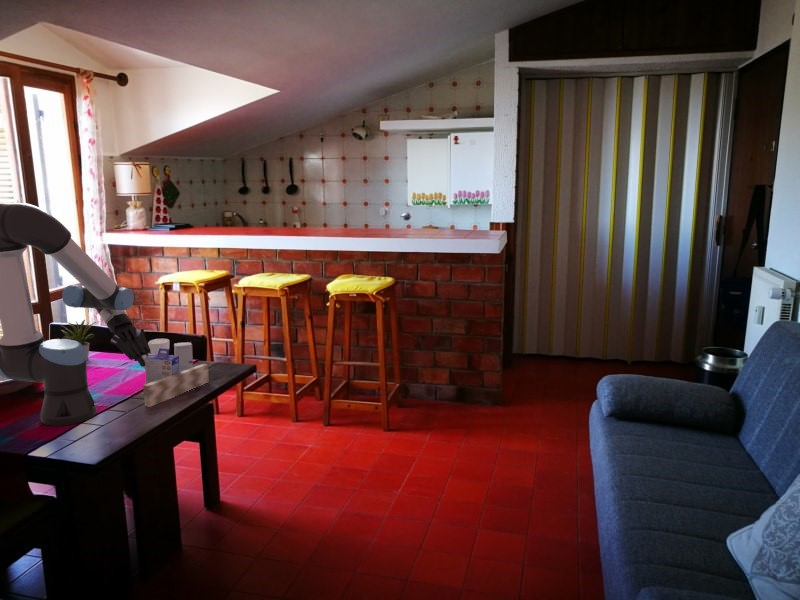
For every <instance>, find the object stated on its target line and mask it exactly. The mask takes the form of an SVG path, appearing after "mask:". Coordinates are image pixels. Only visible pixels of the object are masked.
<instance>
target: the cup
mask: <svg viewBox="0 0 800 600" xmlns="http://www.w3.org/2000/svg"><path fill="white" fill-rule="evenodd" d="M148 345H149V348H150V350H151V351H150V352H149V354H148V356H150V355H152V354H158V351H159V348H162V349H169V350H170V339H168V338H155V339H154V338H153V339H151V340H149V341H148ZM160 353H167V352H166V351H160Z"/></svg>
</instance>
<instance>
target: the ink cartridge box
mask: <svg viewBox="0 0 800 600" xmlns="http://www.w3.org/2000/svg"><path fill="white" fill-rule="evenodd" d="M160 351H166V352H167V353H160ZM145 367H146V370H145V384H148V383H151V382H154V381H156V380H159V379H162V378H165V377H168V376H170V375H173V374H176V373H179V356H175V355H173V354H171V355H170V348H169V349H162V348H159V351H158V354H152V355H150V356H149V355H148V357H146V358H145Z"/></svg>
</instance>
